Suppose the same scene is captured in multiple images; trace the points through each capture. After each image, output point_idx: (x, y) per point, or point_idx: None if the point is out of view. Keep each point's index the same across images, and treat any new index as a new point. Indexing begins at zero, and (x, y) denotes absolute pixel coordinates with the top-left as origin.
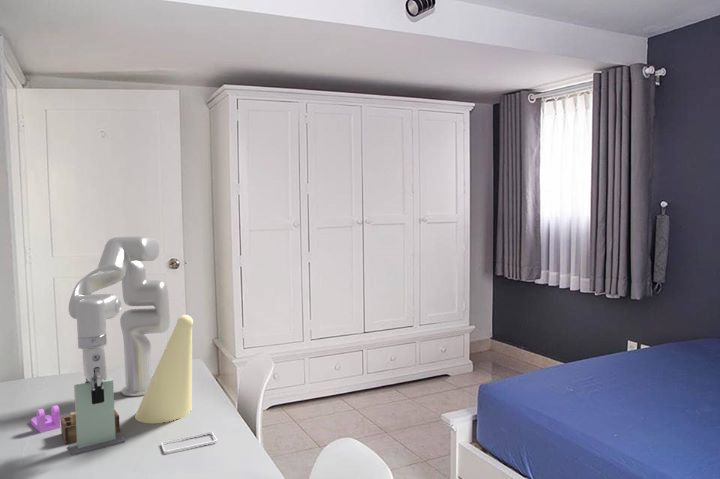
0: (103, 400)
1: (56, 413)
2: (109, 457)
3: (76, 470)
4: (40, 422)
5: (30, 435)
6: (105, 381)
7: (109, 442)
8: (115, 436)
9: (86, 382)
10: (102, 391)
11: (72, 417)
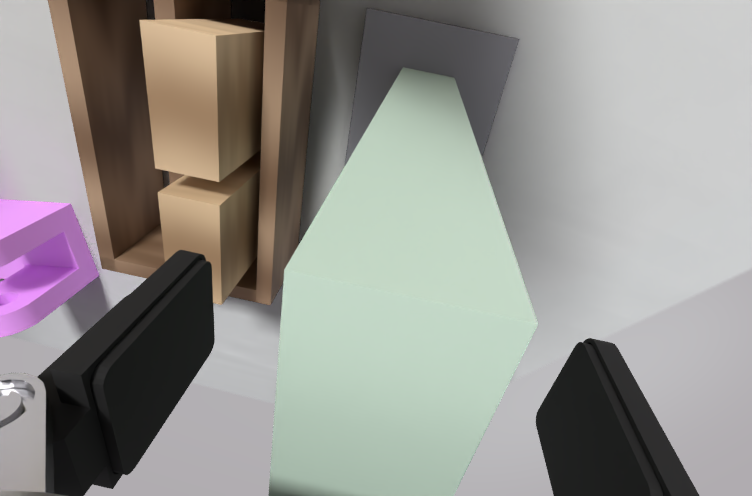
0: (613, 357)
1: (8, 253)
2: (626, 189)
3: (603, 323)
4: (61, 303)
5: (106, 306)
6: (461, 447)
7: (470, 124)
8: (412, 59)
9: (116, 474)
10: (672, 479)
11: (229, 290)
